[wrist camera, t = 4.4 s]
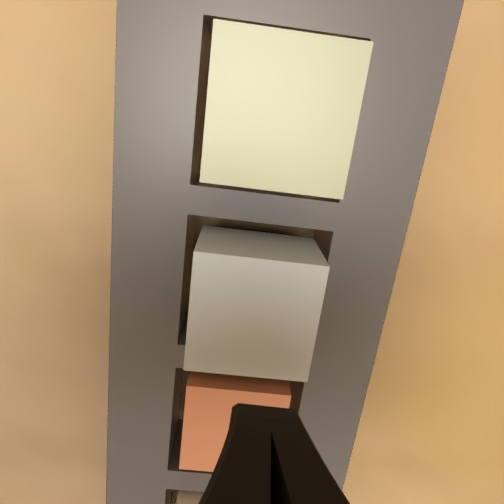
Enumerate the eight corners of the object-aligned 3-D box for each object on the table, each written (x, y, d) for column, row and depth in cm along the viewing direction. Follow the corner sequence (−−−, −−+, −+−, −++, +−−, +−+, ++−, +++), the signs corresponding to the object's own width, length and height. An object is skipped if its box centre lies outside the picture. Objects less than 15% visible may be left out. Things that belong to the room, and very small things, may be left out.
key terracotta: (188, 417, 20) (179, 469, 17) (195, 344, 18) (186, 385, 16) (271, 425, 20) (276, 477, 17) (283, 353, 19) (291, 395, 16)
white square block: (193, 325, 16) (183, 370, 13) (203, 225, 15) (193, 251, 12) (296, 335, 16) (307, 382, 13) (313, 237, 15) (329, 266, 12)
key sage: (208, 168, 14) (199, 182, 11) (219, 39, 13) (213, 18, 10) (323, 183, 14) (342, 199, 12) (345, 57, 13) (373, 41, 10)
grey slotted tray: (121, 530, 22) (104, 591, 20) (143, -25, 14) (118, -60, 12) (304, 544, 23) (313, 604, 20) (423, 17, 15) (465, -6, 12)
